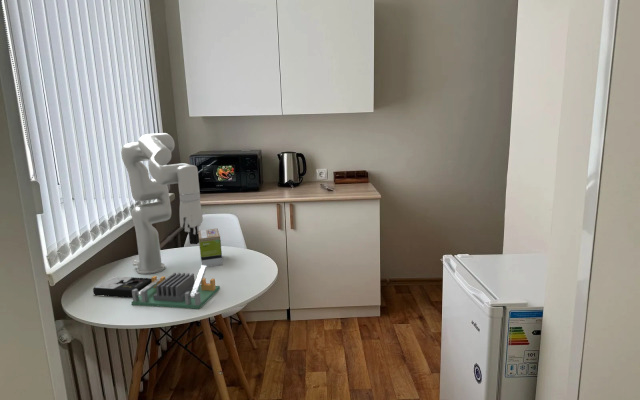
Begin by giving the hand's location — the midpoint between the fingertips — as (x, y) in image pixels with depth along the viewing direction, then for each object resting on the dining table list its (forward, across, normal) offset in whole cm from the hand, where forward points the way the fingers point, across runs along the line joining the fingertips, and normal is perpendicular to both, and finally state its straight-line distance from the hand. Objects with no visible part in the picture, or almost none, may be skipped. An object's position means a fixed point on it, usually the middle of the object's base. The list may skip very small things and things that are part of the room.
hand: (194, 243), depth 170 cm
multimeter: (+22, -1, -35) cm, 41 cm away
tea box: (+22, -39, -14) cm, 47 cm away
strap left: (+18, +3, -20) cm, 27 cm away
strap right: (+15, +4, +2) cm, 15 cm away
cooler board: (+22, +2, -9) cm, 24 cm away
